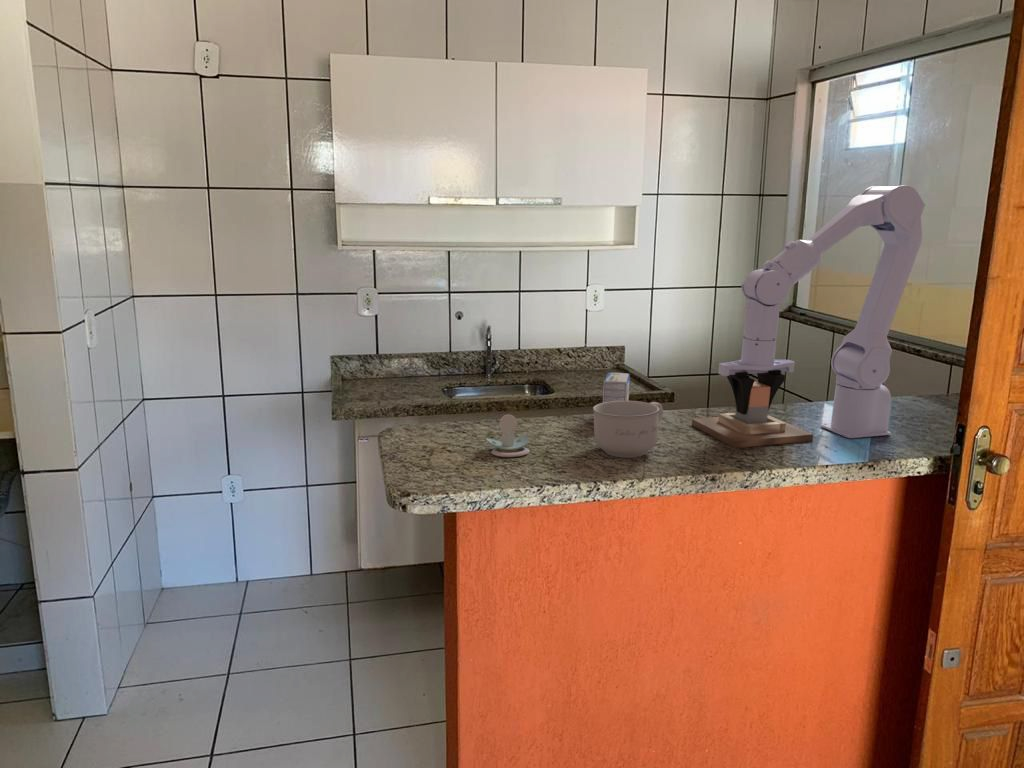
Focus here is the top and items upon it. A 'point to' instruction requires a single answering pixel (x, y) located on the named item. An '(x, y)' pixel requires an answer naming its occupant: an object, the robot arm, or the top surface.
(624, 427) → the teacup
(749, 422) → the square peg
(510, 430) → the pacifier
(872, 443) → the top surface
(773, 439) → the socket board
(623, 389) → the medicine box
